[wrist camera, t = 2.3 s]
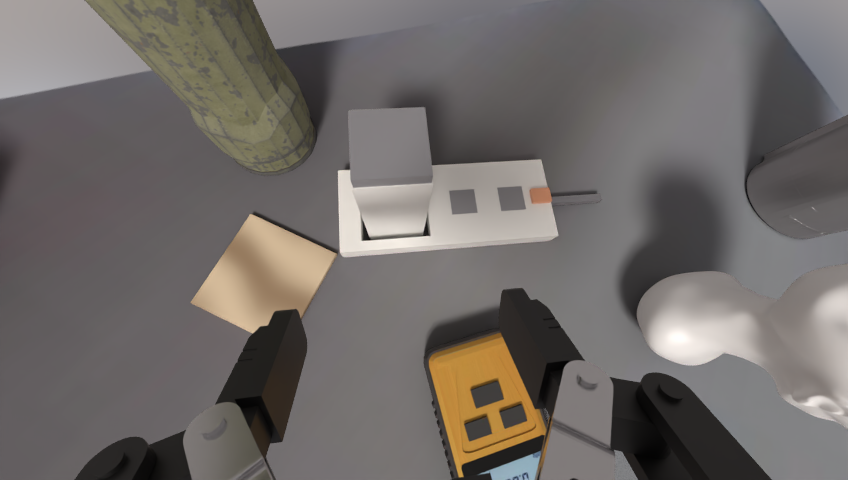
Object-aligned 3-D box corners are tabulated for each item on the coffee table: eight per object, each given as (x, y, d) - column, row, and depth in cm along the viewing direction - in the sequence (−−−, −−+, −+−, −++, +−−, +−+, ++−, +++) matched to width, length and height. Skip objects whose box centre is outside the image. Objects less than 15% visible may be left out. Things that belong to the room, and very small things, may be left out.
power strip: (341, 179, 31) (336, 168, 28) (587, 165, 33) (600, 153, 31) (343, 257, 28) (338, 251, 26) (606, 236, 31) (622, 229, 28)
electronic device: (504, 324, 28) (518, 323, 25) (572, 521, 24) (599, 550, 21) (417, 351, 27) (419, 353, 24) (473, 563, 23) (485, 601, 20)
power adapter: (367, 191, 30) (346, 107, 19) (417, 188, 31) (426, 104, 19) (370, 240, 29) (348, 181, 18) (422, 236, 29) (435, 176, 18)
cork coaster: (252, 215, 29) (250, 213, 29) (337, 254, 28) (336, 253, 28) (193, 303, 26) (190, 302, 26) (285, 348, 26) (283, 348, 25)
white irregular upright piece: (670, 262, 30) (910, 202, 16) (751, 368, 28) (1121, 410, 14) (596, 310, 28) (792, 292, 14) (676, 428, 26) (1012, 551, 12)
